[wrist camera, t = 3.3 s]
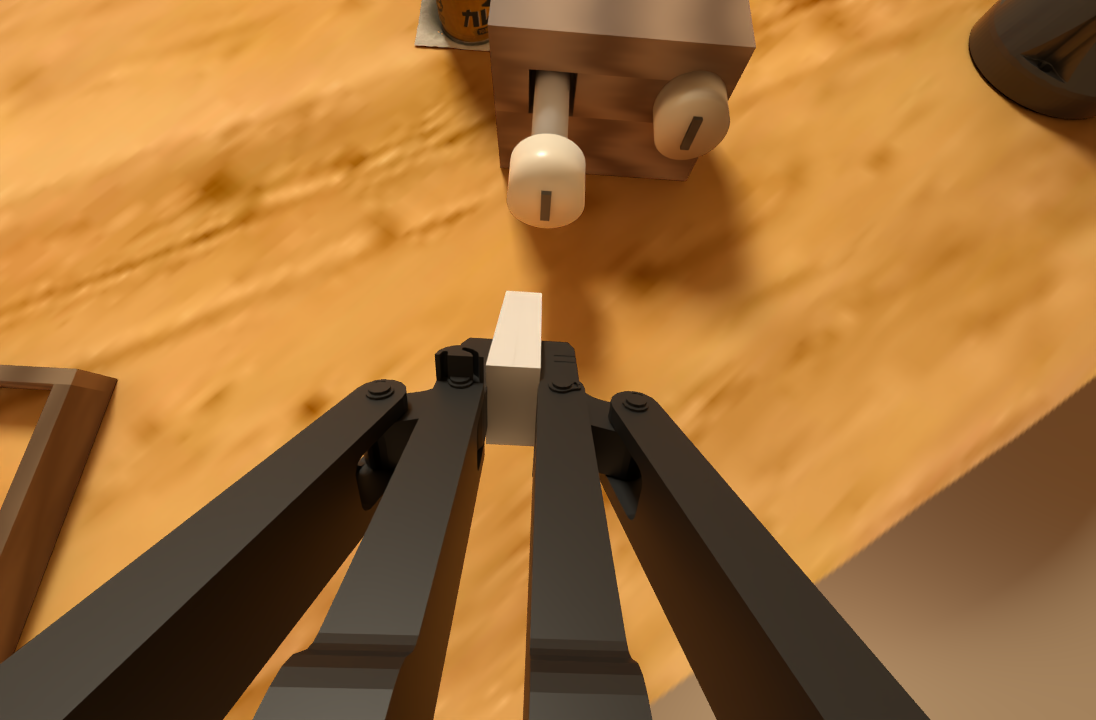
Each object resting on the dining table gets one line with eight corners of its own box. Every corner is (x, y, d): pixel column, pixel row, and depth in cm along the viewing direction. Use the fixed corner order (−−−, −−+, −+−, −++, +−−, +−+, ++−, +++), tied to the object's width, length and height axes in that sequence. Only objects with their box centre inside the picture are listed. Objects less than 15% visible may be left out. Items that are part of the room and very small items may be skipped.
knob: (583, 67, 31) (593, -4, 27) (579, 234, 27) (589, 183, 22) (523, 62, 31) (522, -10, 26) (508, 229, 27) (504, 177, 22)
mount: (679, 93, 37) (739, -60, 27) (687, 207, 33) (761, 81, 23) (509, 79, 37) (501, -82, 26) (497, 193, 33) (483, 58, 22)
